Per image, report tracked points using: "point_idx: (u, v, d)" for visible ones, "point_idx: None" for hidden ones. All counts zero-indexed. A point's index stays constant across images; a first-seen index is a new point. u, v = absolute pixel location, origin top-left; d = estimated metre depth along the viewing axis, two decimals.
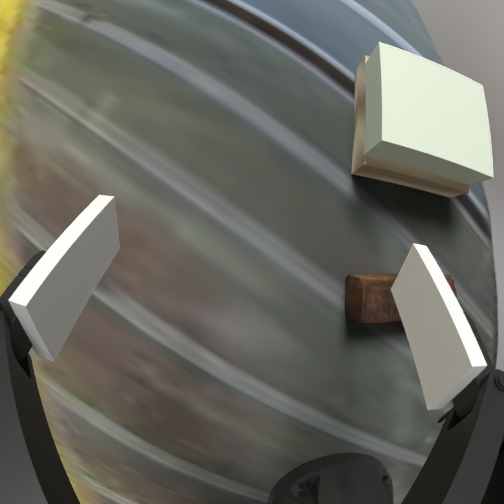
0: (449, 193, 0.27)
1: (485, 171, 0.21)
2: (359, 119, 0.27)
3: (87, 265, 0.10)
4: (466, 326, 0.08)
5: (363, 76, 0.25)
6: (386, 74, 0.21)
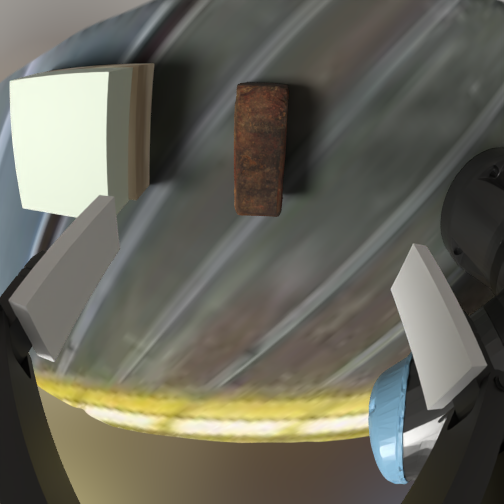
0: (147, 77, 0.22)
1: (104, 87, 0.17)
2: None
3: (87, 265, 0.10)
4: (466, 326, 0.08)
5: None
6: (50, 208, 0.23)
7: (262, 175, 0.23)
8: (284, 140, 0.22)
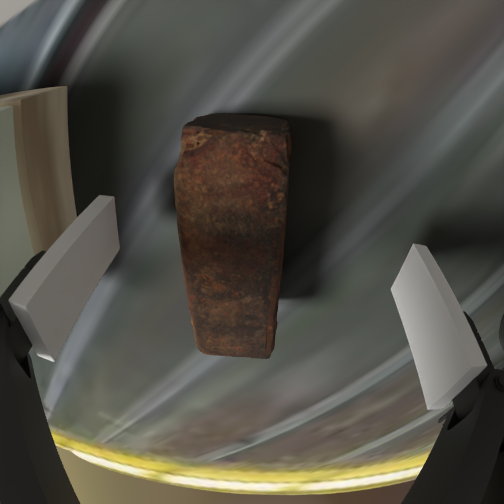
0: (49, 114, 0.11)
1: None
2: None
3: (87, 265, 0.10)
4: (466, 326, 0.08)
5: None
6: None
7: (239, 308, 0.13)
8: (280, 249, 0.11)
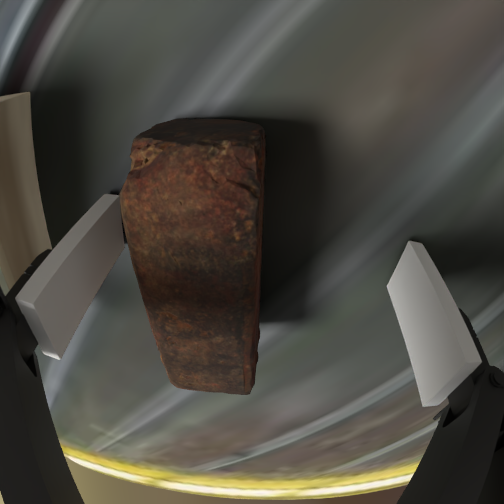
0: (10, 125, 0.09)
1: None
2: None
3: (93, 263, 0.11)
4: (461, 322, 0.09)
5: None
6: None
7: (210, 347, 0.11)
8: (252, 286, 0.09)
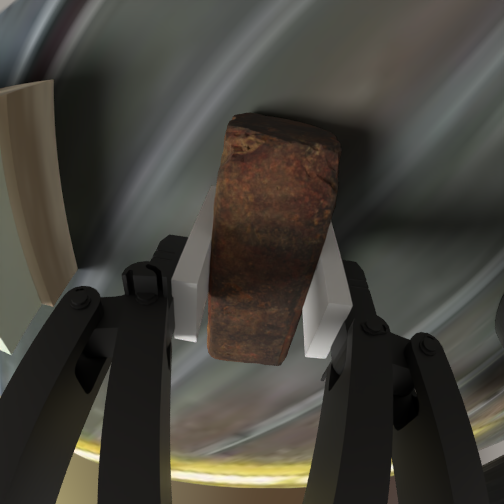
0: (35, 108, 0.11)
1: None
2: None
3: None
4: (338, 268, 0.10)
5: None
6: None
7: (262, 317, 0.12)
8: (316, 264, 0.11)
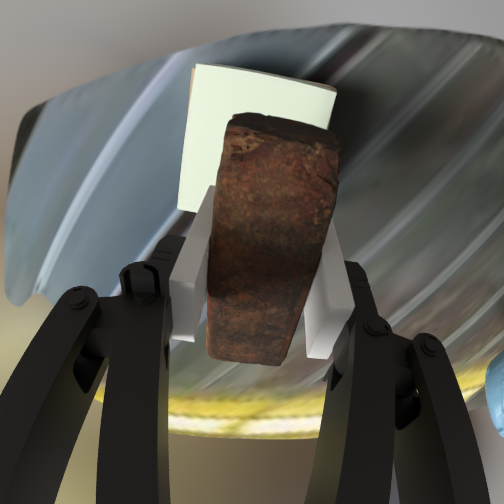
0: None
1: (329, 106, 0.20)
2: None
3: None
4: (340, 269, 0.10)
5: None
6: None
7: (262, 318, 0.12)
8: (315, 264, 0.11)
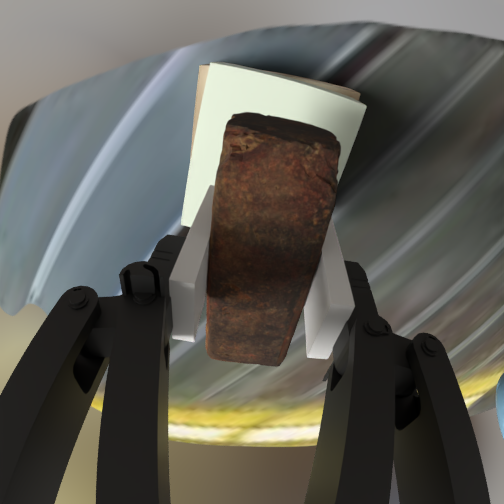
0: None
1: (357, 120, 0.18)
2: None
3: None
4: (340, 269, 0.10)
5: None
6: None
7: (261, 318, 0.12)
8: (315, 264, 0.11)
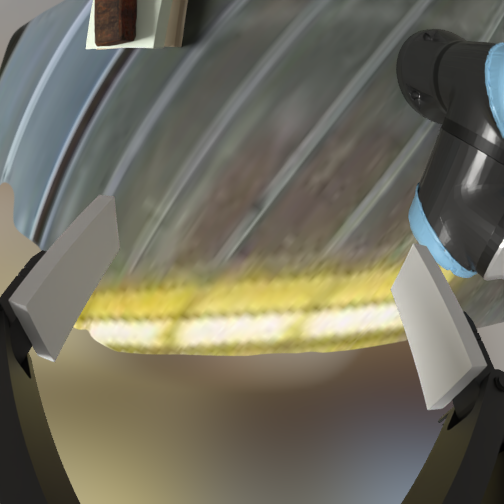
0: None
1: None
2: None
3: (87, 265, 0.10)
4: (466, 326, 0.08)
5: (112, 48, 0.34)
6: None
7: (109, 14, 0.24)
8: None
